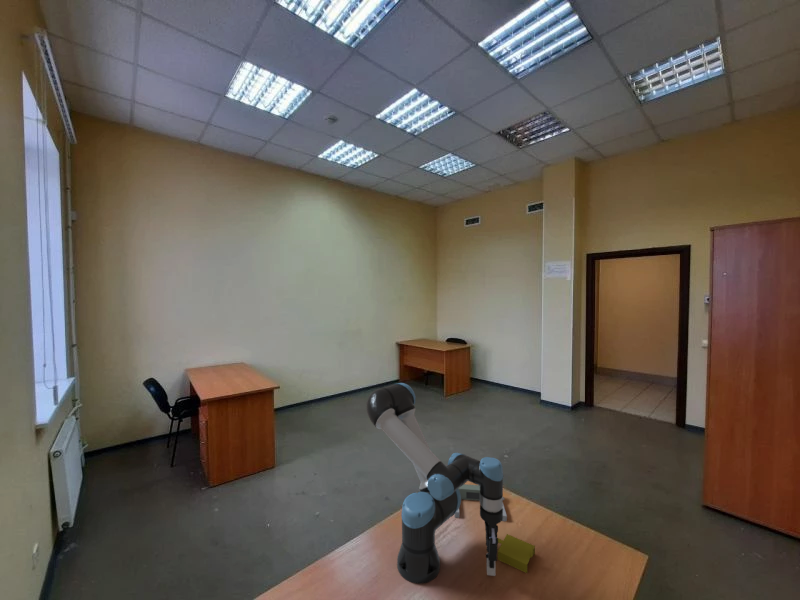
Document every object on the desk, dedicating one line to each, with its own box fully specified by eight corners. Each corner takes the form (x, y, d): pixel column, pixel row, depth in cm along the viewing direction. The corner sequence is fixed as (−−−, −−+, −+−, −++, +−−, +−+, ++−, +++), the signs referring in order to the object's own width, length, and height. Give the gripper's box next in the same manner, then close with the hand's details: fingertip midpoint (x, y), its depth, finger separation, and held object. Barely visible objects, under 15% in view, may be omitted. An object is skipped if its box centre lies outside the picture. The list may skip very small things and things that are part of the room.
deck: (454, 517, 144) (454, 503, 143) (453, 493, 160) (453, 481, 160) (506, 521, 141) (506, 507, 141) (499, 496, 158) (499, 484, 158)
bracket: (498, 516, 133) (538, 532, 124) (498, 535, 133) (537, 552, 124) (484, 540, 120) (526, 560, 111) (484, 561, 120) (526, 582, 112)
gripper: (506, 520, 105) (506, 592, 106) (499, 495, 118) (498, 559, 119) (482, 518, 106) (482, 589, 107) (477, 493, 119) (477, 557, 120)
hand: (491, 573), depth 113 cm, fingers closed
